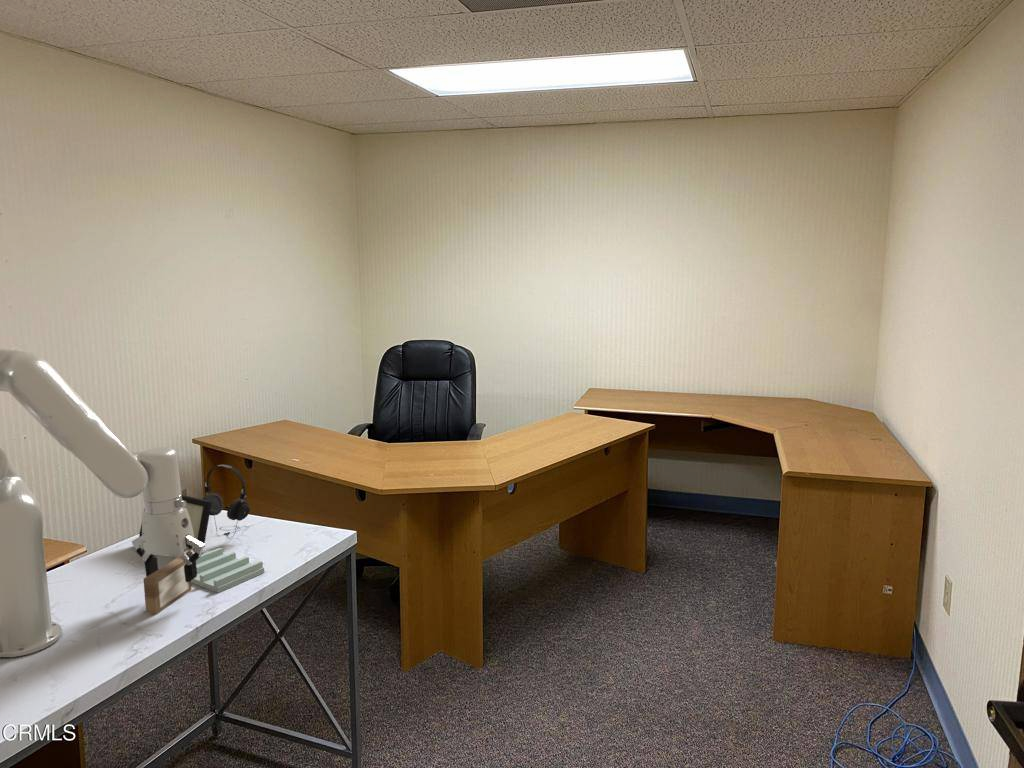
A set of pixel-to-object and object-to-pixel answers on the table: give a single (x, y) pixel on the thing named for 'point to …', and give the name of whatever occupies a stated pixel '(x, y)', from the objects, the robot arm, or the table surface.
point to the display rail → (224, 570)
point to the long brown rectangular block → (165, 586)
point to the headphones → (237, 508)
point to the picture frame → (196, 517)
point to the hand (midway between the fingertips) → (171, 577)
